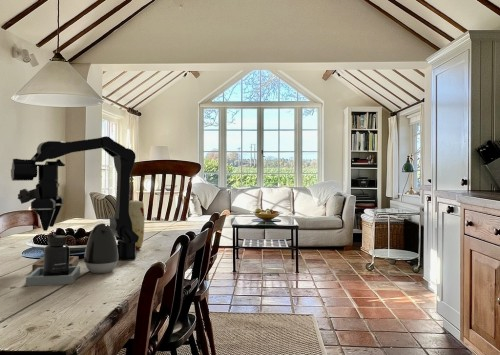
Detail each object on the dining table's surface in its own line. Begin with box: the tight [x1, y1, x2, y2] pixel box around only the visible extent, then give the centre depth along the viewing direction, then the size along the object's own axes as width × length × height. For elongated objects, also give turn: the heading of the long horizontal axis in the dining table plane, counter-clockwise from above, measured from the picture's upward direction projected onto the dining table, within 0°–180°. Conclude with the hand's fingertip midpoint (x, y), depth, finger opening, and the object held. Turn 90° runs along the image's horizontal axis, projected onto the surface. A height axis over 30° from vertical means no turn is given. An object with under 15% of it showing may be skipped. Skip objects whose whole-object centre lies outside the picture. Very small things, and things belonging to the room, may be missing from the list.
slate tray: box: [25, 265, 81, 287], centre depth 119 cm, size 12×12×2 cm
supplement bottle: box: [43, 235, 71, 276], centre depth 119 cm, size 7×7×12 cm
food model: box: [129, 199, 145, 251], centre depth 166 cm, size 10×7×20 cm
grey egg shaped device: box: [83, 222, 120, 275], centre depth 129 cm, size 10×10×15 cm
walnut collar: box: [31, 255, 80, 273], centre depth 133 cm, size 11×11×2 cm
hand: (48, 228), depth 133 cm, fingers open, 9 cm apart
